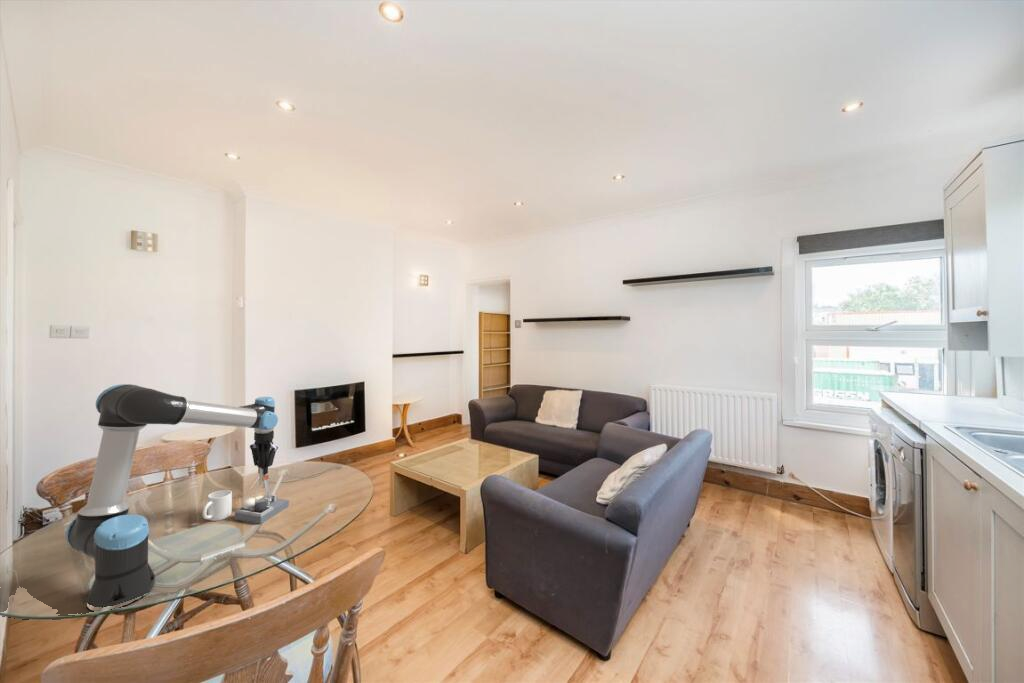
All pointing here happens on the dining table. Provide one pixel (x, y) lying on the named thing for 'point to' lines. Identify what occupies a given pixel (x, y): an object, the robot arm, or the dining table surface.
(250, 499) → the button ivory
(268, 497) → the lever
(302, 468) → the dining table surface
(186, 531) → the dining table surface
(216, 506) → the mug
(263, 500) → the panel
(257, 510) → the button black
